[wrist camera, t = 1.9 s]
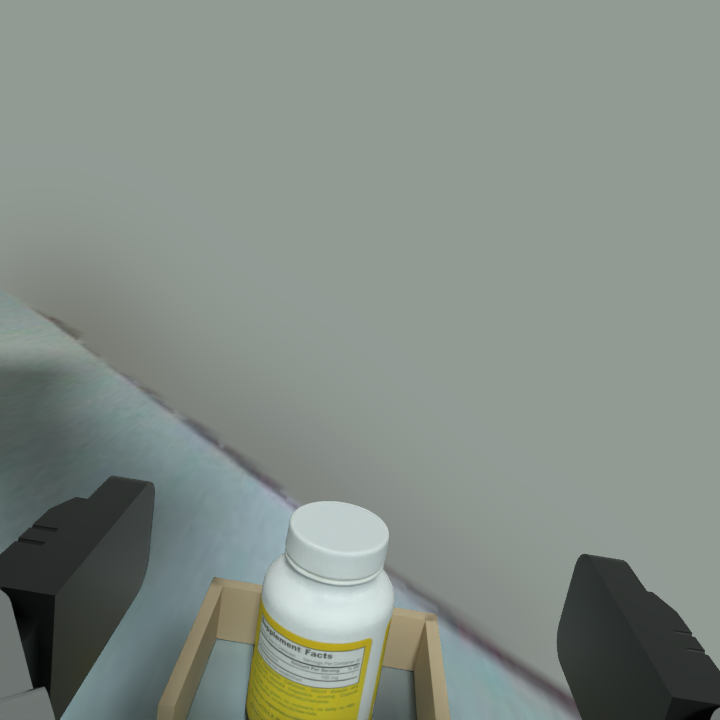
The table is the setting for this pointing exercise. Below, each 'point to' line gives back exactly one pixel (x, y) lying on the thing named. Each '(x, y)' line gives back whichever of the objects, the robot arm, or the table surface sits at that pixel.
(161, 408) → the table surface
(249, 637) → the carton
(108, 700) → the table surface
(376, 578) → the supplement bottle
